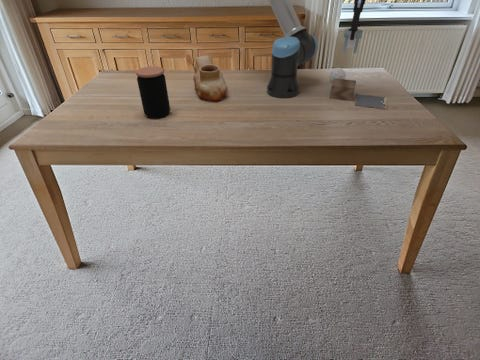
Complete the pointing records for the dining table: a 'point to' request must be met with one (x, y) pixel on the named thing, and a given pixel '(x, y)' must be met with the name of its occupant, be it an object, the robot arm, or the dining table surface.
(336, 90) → the pedestal
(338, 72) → the geometric ball
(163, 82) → the coffee jar
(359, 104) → the mat
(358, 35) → the stool
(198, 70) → the ceramic vessel
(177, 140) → the dining table surface
